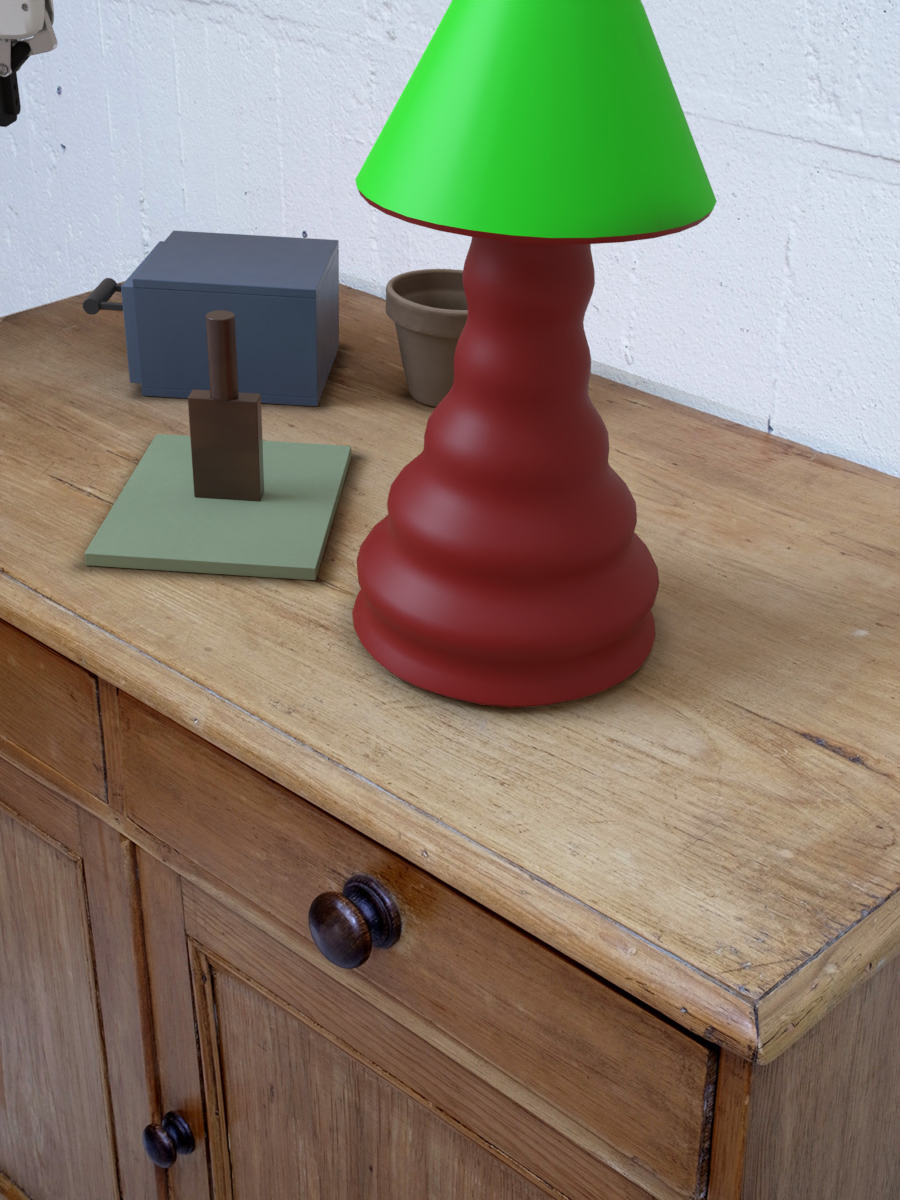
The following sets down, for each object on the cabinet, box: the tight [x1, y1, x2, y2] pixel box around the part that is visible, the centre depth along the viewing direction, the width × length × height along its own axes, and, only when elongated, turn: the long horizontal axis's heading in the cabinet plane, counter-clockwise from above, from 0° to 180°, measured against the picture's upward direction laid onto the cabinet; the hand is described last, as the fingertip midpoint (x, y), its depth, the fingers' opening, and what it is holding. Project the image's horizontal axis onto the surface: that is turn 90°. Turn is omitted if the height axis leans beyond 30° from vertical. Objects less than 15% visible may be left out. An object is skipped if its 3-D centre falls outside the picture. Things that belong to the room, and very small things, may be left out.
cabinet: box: [132, 230, 340, 407], centre depth 119 cm, size 16×15×11 cm
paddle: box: [187, 310, 264, 501], centre depth 95 cm, size 5×2×14 cm, turn 87°
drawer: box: [82, 240, 165, 384], centre depth 119 cm, size 19×13×9 cm
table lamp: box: [351, 0, 717, 709], centre depth 75 cm, size 20×20×45 cm
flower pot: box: [385, 268, 468, 408], centre depth 116 cm, size 12×11×10 cm
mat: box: [84, 433, 352, 581], centre depth 99 cm, size 16×20×1 cm
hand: (2, 122), depth 112 cm, fingers closed
